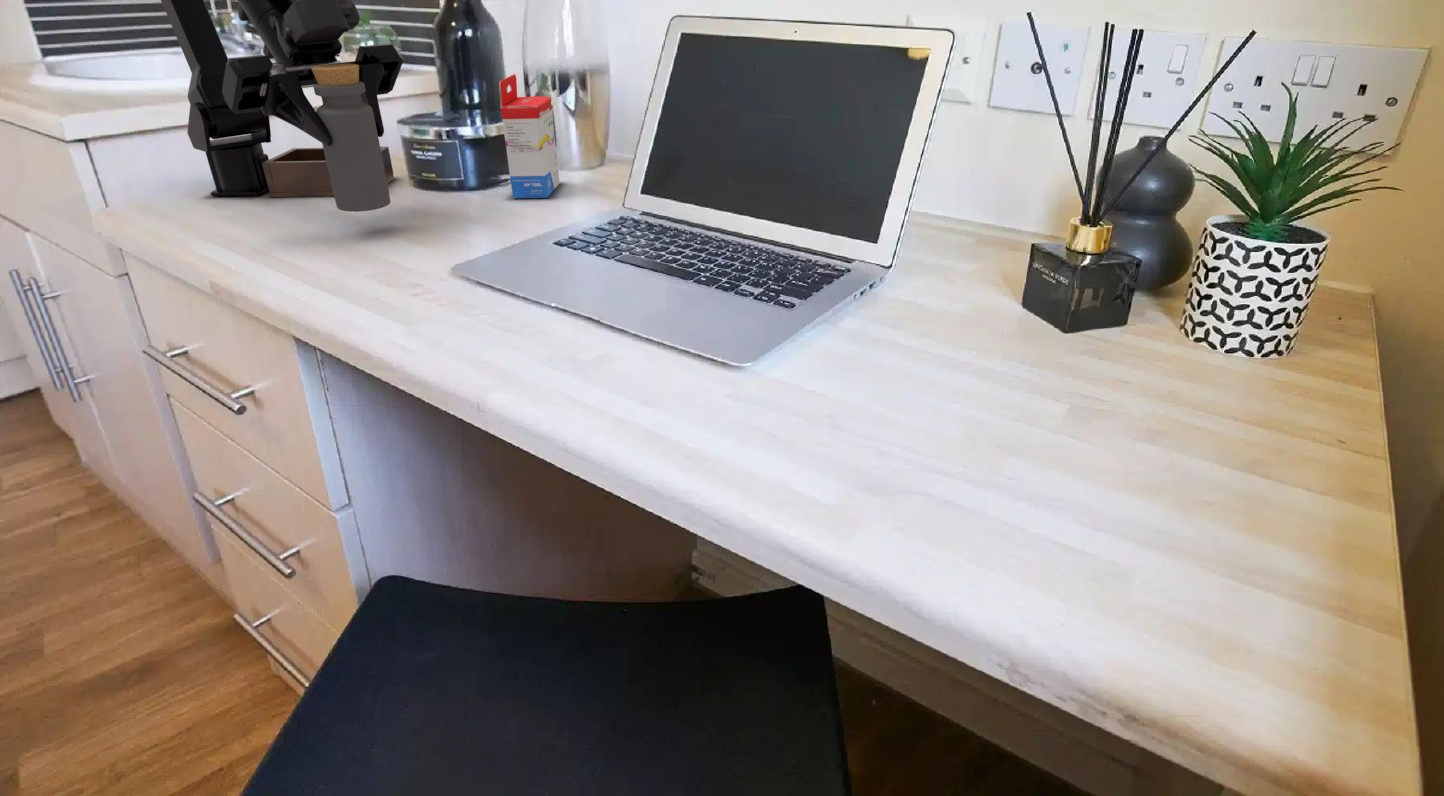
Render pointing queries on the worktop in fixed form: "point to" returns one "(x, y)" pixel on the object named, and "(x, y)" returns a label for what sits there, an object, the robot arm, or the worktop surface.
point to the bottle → (350, 140)
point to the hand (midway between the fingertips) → (356, 138)
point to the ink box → (529, 142)
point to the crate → (306, 173)
